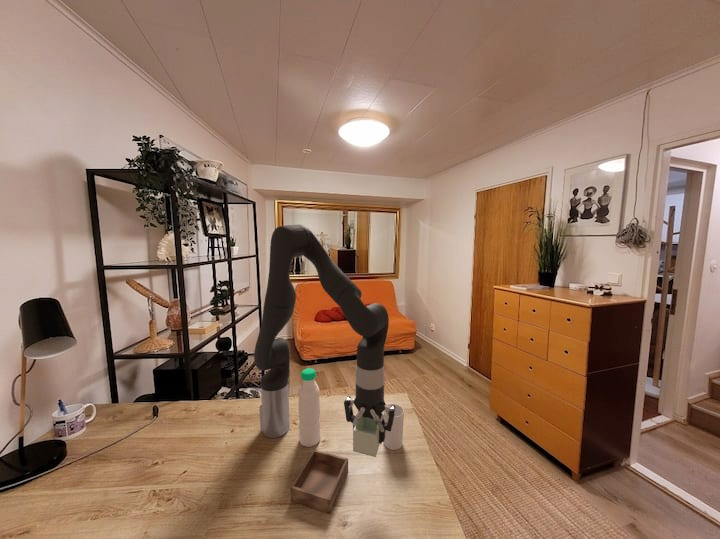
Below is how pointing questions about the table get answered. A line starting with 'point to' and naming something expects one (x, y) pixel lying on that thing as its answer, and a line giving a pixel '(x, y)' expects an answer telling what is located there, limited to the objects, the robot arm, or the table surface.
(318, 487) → the walnut crate
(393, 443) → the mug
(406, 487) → the table surface
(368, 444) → the sage crate
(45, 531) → the table surface
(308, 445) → the water bottle
